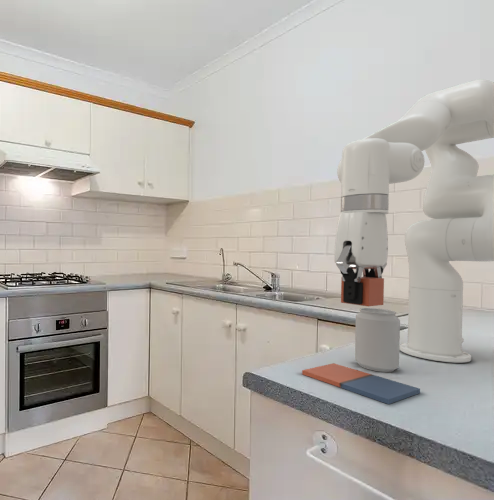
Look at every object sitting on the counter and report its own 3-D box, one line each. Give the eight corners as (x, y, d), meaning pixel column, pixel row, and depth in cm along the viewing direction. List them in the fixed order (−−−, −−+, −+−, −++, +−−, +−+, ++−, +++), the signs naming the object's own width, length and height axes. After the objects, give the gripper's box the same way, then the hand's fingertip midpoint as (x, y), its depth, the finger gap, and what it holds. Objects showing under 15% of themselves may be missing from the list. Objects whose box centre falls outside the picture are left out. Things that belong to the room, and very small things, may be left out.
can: (357, 359, 81) (358, 305, 81) (399, 366, 76) (400, 309, 76) (352, 367, 75) (353, 309, 75) (398, 376, 70) (399, 314, 70)
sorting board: (333, 366, 75) (333, 362, 75) (420, 393, 62) (420, 388, 62) (302, 374, 71) (302, 370, 71) (388, 404, 57) (388, 399, 57)
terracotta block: (355, 301, 72) (356, 276, 72) (383, 304, 68) (384, 278, 68) (340, 302, 70) (341, 276, 70) (368, 306, 66) (369, 278, 66)
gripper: (367, 211, 76) (365, 297, 76) (316, 205, 68) (314, 302, 68) (410, 208, 70) (407, 302, 70) (358, 201, 62) (356, 308, 62)
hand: (361, 301), depth 69 cm, fingers closed on terracotta block, 5 cm apart
